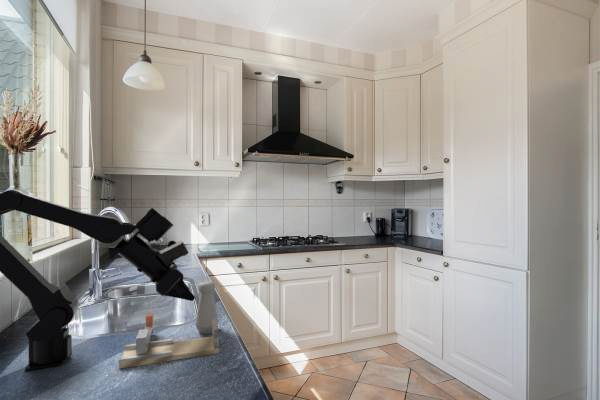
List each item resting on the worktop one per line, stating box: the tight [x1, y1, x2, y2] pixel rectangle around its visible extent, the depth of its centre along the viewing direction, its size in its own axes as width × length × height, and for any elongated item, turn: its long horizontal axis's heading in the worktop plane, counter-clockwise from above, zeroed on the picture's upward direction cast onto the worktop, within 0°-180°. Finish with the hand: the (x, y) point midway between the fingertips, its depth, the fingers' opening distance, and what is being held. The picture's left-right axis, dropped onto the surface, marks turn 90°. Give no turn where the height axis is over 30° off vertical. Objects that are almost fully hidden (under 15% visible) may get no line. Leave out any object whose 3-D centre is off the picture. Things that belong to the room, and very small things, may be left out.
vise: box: [118, 319, 220, 369], centre depth 72 cm, size 20×7×5 cm, turn 109°
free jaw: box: [135, 312, 155, 356], centre depth 75 cm, size 2×16×4 cm, turn 19°
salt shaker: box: [194, 280, 219, 335], centre depth 84 cm, size 6×6×13 cm
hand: (190, 294), depth 82 cm, fingers open, 9 cm apart
